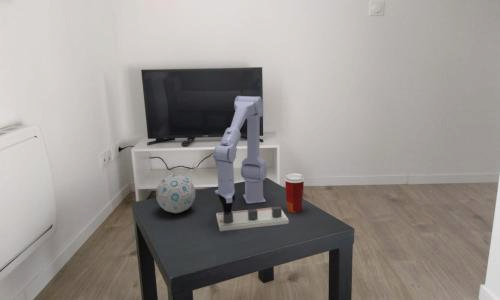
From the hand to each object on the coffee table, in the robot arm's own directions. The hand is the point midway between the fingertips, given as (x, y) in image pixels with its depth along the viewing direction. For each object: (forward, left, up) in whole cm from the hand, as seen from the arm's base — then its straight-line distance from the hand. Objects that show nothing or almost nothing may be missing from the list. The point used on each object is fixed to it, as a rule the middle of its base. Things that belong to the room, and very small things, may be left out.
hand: (227, 213), depth 136 cm
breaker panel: (-1, +9, -4) cm, 10 cm away
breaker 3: (+2, +18, -2) cm, 18 cm away
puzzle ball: (-16, -18, -4) cm, 24 cm away
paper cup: (-6, +27, -4) cm, 28 cm away
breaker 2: (+2, +9, -2) cm, 9 cm away
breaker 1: (+2, 0, -2) cm, 3 cm away
